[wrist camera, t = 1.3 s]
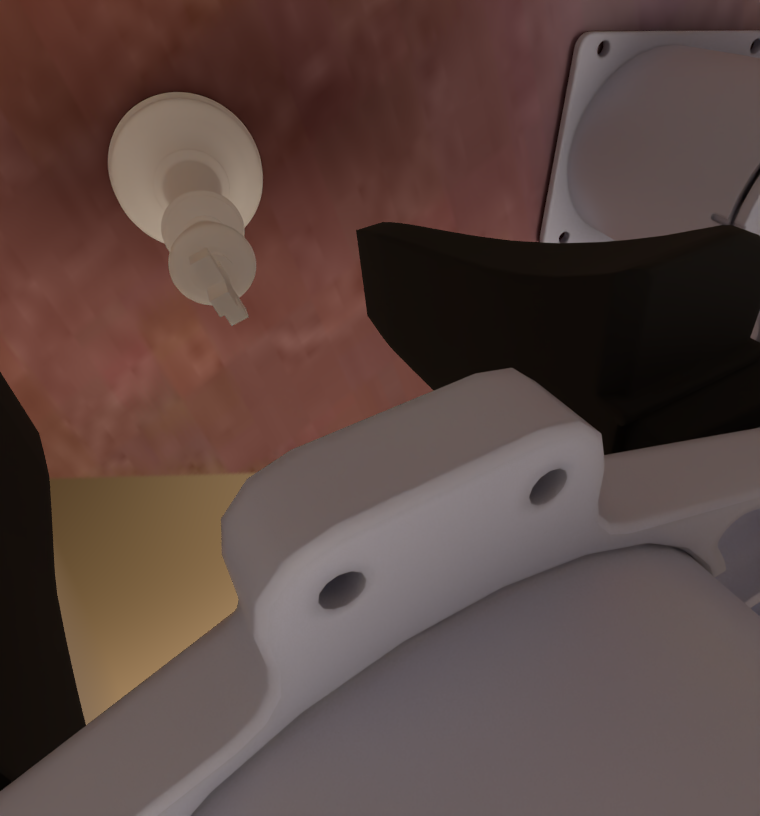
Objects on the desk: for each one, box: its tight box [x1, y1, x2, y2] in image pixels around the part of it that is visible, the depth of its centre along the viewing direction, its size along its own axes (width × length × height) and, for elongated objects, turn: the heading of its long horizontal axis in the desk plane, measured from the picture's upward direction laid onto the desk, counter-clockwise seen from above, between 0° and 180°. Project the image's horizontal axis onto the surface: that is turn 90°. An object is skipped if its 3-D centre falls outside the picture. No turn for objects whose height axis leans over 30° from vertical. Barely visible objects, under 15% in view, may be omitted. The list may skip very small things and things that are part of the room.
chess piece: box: [108, 92, 263, 326], centre depth 16 cm, size 5×5×10 cm
